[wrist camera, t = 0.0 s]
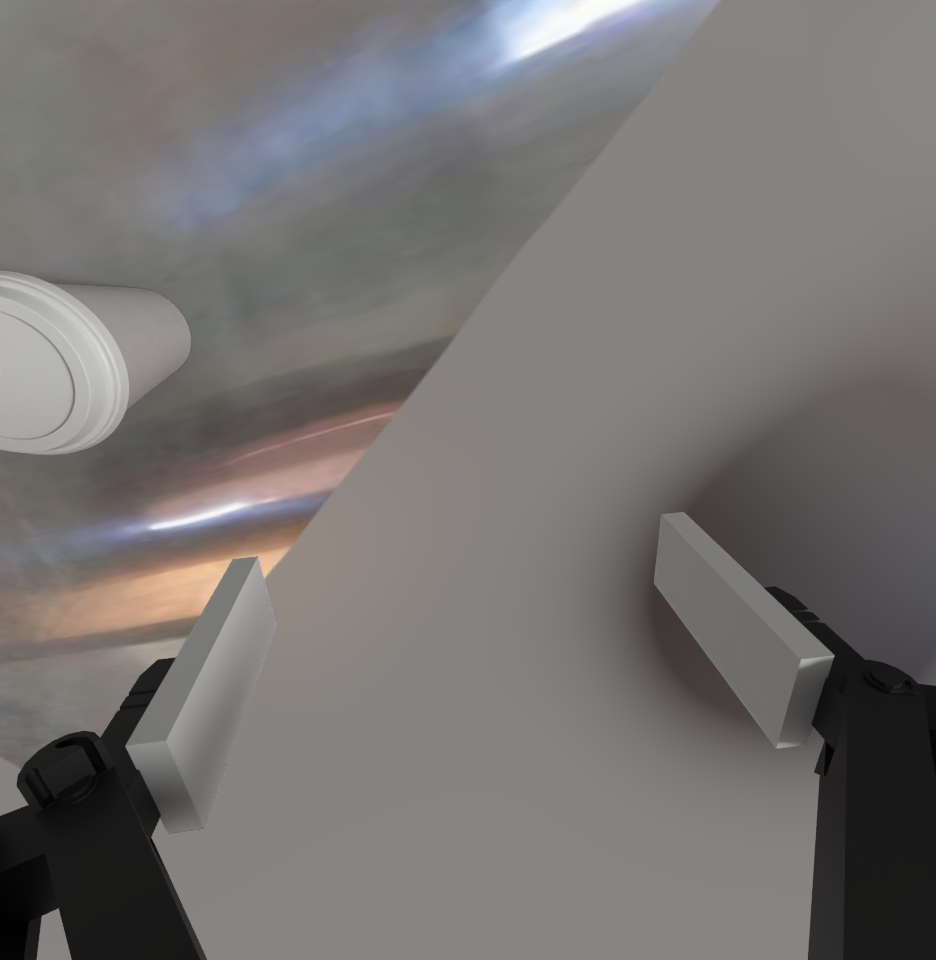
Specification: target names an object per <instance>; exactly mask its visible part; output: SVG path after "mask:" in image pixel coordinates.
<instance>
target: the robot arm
mask: <svg viewBox="0 0 936 960" xmlns="http://www.w3.org/2000/svg"><path fill="white" fill-rule="evenodd" d="M654 584H655V585H656V587H657V588H658V589H659V590H660V592H661V593H662V595H663V596H664V597H665V599H666V600H667V601H668V603H669V604H670V606H671V607H672V608H673V610H674V611H675V612H676V613H677V615H678V616H679V618H680V619H681V620H682V622H683V623H684V624H685V626H686V627H687V629H688V630H689V631H690V633H691V634H692V635H693V637H694V638H695V639H696V641H697V642H698V643H699V645H700V646H701V647H702V649H703V650H704V652H705V653H706V654H707V656H708V657H709V658H710V660H711V661H712V662H713V663H714V665H715V666H716V668H717V669H718V671H719V672H720V673H721V675H722V676H723V677H724V679H725V680H726V681H727V683H728V684H729V685H730V687H731V688H732V689H733V691H734V692H735V694H736V695H737V696H738V698H739V699H740V700H741V702H742V703H743V704H744V706H745V707H746V708H747V710H748V711H749V712H750V714H751V715H752V717H753V718H754V719H755V721H756V722H757V723H758V725H759V726H760V727H761V729H762V730H763V731H764V733H765V734H766V736H767V737H768V738H769V740H770V741H771V742H772V744H773V745H774V746H775V748H784V747H790V746H798V745H805V744H807V742H808V739H809V736H810V732H811V729H812V726H814V728H815V729H816V730H817V731H818V732H819V733H820V735H821V736H822V737H823V738H824V739H825V741H824V744H823V747H822V750H821V753H820V756H819V759H818V762H817V765H816V768H815V771H814V773H817V774H819V775H820V780H819V796H818V811H817V827H816V842H815V857H814V873H813V889H812V904H811V920H810V935H809V936H810V937H809V952H808V960H936V686H932V685H923V684H918V683H917V682H916V681H915V680H913V679H912V677H910V676H909V675H908V674H906V673H904V672H902V671H901V670H899V669H898V668H896V667H893V666H890V665H888V664H885V663H882V662H878V661H873V660H865V659H864V658H863V657H861V656H860V655H859V654H858V653H857V652H856V651H855V650H854V649H853V648H851V647H850V646H849V645H848V644H847V643H846V642H845V641H844V640H842V639H841V638H840V637H839V636H838V635H837V634H836V633H835V632H834V631H832V630H831V629H830V628H829V627H828V626H827V625H826V624H825V623H821V620H820V619H819V618H818V617H817V616H816V615H815V614H813V613H812V612H809V609H808V608H807V607H806V606H804V605H803V604H802V603H801V602H800V601H799V600H798V599H797V598H796V597H794V596H792V595H790V594H789V593H786V592H785V591H783V590H781V589H779V588H777V587H775V586H774V587H766V588H763V587H762V586H761V585H760V584H759V583H758V582H757V581H756V580H755V579H754V578H753V577H752V576H750V575H749V574H748V573H747V572H746V571H745V570H744V569H743V568H742V567H741V566H740V565H739V564H738V563H737V562H736V561H735V560H734V559H733V558H731V557H730V556H729V555H728V554H727V553H726V552H725V551H724V550H723V549H722V548H721V547H720V546H719V545H718V544H717V543H716V542H715V541H714V540H712V539H711V538H710V537H709V536H708V535H707V534H706V533H705V532H704V531H703V530H702V529H701V528H700V527H699V526H698V525H697V524H696V523H695V522H694V521H692V520H691V519H690V518H689V517H688V516H687V515H686V514H685V513H684V512H680V513H671V514H662V515H661V523H660V532H659V542H658V550H657V559H656V568H655V577H654ZM276 626H277V625H276V622H275V618H274V615H273V611H272V607H271V604H270V600H269V596H268V592H267V589H266V585H265V581H264V577H263V574H262V570H261V566H260V563H259V559H258V557H249V558H240V559H233V560H232V562H231V563H230V565H229V567H228V569H227V570H226V572H225V574H224V576H223V577H222V579H221V581H220V582H219V584H218V586H217V588H216V589H215V591H214V593H213V595H212V596H211V598H210V600H209V602H208V603H207V605H206V607H205V608H204V610H203V612H202V614H201V615H200V617H199V619H198V621H197V622H196V624H195V626H194V628H193V629H192V631H191V633H190V634H189V636H188V638H187V640H186V641H185V643H184V645H183V647H182V648H181V650H180V652H179V654H178V655H177V657H176V658H168V659H159V660H157V661H156V662H155V663H154V664H152V665H151V666H150V667H149V668H148V669H147V670H146V671H145V672H144V673H142V674H141V675H140V676H139V678H138V680H137V681H136V683H135V684H134V686H133V687H132V689H131V691H130V692H129V696H127V697H126V698H125V700H124V702H123V703H122V705H121V706H120V711H117V713H116V714H115V716H114V717H113V719H112V720H111V722H110V724H109V725H108V727H107V728H106V730H105V731H104V733H103V735H102V736H101V738H100V737H99V736H98V735H97V734H96V733H94V732H88V731H81V732H76V733H71V734H68V735H65V736H63V737H61V738H59V739H56V740H54V741H52V742H51V743H49V744H48V745H46V746H45V747H43V748H42V749H40V750H39V751H38V752H37V753H36V754H35V755H33V756H32V757H31V758H30V759H29V760H28V761H27V762H26V763H25V765H24V767H23V768H22V770H21V771H20V773H19V774H18V779H17V787H18V789H19V790H20V792H21V793H22V795H23V797H24V798H25V799H26V801H27V803H28V804H29V805H28V806H25V807H22V808H20V809H17V810H15V811H12V812H9V813H7V814H4V815H2V816H0V960H36V958H37V951H38V942H39V934H40V925H41V917H42V915H45V914H47V913H49V912H51V911H53V910H56V909H58V908H59V911H60V915H61V919H62V923H63V927H64V931H65V934H66V938H67V942H68V946H69V950H70V954H71V958H72V960H207V959H206V956H205V954H204V952H203V950H202V948H201V945H200V943H199V941H198V939H197V936H196V934H195V932H194V930H193V928H192V925H191V923H190V921H189V919H188V917H187V915H186V912H185V910H184V908H183V906H182V903H181V901H180V899H179V897H178V895H177V892H176V890H175V888H174V886H173V884H172V881H171V879H170V877H169V875H168V872H167V870H166V868H165V866H164V864H163V862H162V859H161V857H160V855H159V853H158V851H157V848H156V846H155V844H154V842H153V840H152V838H151V836H152V834H153V832H154V830H155V827H156V825H157V823H158V821H159V818H161V821H162V823H163V825H164V827H165V829H166V831H167V833H168V834H171V833H179V832H186V831H193V830H200V829H204V828H205V826H206V823H207V820H208V817H209V814H210V812H211V808H212V806H213V803H214V800H215V798H216V795H217V792H218V789H219V786H220V784H221V781H222V778H223V775H224V772H225V769H226V767H227V764H228V761H229V758H230V755H231V753H232V750H233V747H234V744H235V741H236V738H237V736H238V733H239V730H240V727H241V724H242V722H243V719H244V716H245V713H246V711H247V708H248V705H249V702H250V699H251V697H252V693H253V691H254V688H255V685H256V682H257V679H258V677H259V674H260V671H261V669H262V666H263V663H264V660H265V657H266V654H267V652H268V649H269V646H270V643H271V640H272V638H273V635H274V632H275V629H276Z"/></svg>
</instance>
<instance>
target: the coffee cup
mask: <svg viewBox="0 0 936 960" xmlns="http://www.w3.org/2000/svg"><path fill="white" fill-rule="evenodd" d="M190 349H191V335H190V330H189V327H188V324H187V322H186V320H185V318H184V317H183V315H182V314H181V312H180V311H179V310H178V308H177V307H176V306H175V305H174V304H173V303H171V302H170V301H169V300H168V299H166V298H165V297H163V296H162V295H160V294H158V293H156V292H153V291H151V290H147V289H143V288H132V287H111V286H91V285H72V284H54V283H48V282H46V281H44V280H41V279H39V278H36V277H33V276H29V275H26V274H21V273H16V272H10V271H0V449H1V450H5V451H11V452H20V453H28V454H37V455H58V454H66V453H72V452H77V451H81V450H84V449H87V448H90V447H92V446H94V445H96V444H98V443H100V442H101V441H103V440H104V439H106V438H107V437H108V436H109V435H110V434H111V433H112V432H113V431H114V430H115V429H116V428H117V426H118V425H119V423H120V422H121V420H122V418H123V416H124V414H125V411H126V410H127V409H128V408H130V407H131V406H132V405H133V404H135V403H136V402H137V401H138V400H140V399H141V398H142V397H143V396H145V395H146V394H147V393H148V392H150V391H151V390H152V389H153V388H155V387H156V386H157V385H159V384H160V383H161V382H162V381H164V380H165V379H166V378H167V377H169V376H170V375H171V374H172V373H174V372H175V371H176V370H178V369H179V368H180V367H181V366H182V365H183V364H184V363H185V361H186V360H187V358H188V356H189V353H190Z"/></svg>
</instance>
